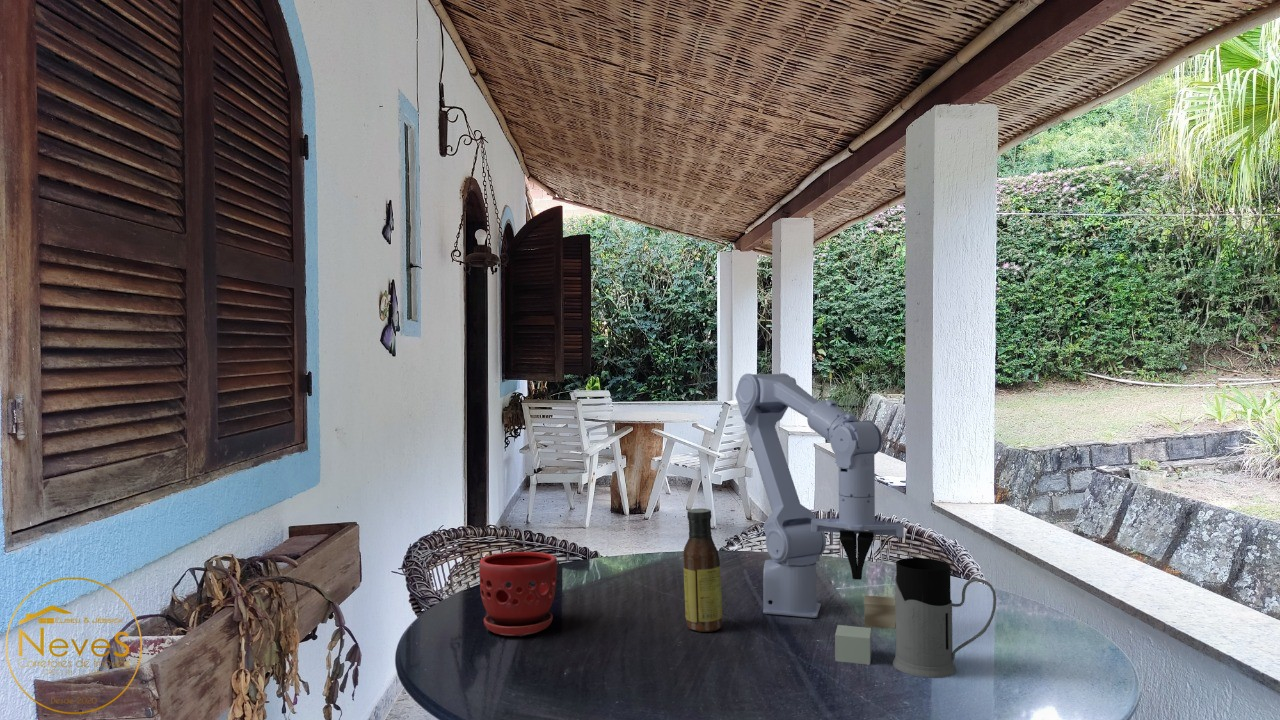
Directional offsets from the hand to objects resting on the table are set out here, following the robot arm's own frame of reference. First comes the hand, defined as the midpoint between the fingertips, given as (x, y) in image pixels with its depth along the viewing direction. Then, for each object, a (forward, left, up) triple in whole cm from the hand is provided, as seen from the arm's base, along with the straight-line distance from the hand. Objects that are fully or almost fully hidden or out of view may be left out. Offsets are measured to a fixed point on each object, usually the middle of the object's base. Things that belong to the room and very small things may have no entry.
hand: (857, 577), depth 131 cm
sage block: (0, -10, -10) cm, 14 cm away
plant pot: (-55, -12, -10) cm, 57 cm away
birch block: (+3, +8, -10) cm, 13 cm away
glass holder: (+13, -12, -10) cm, 20 cm away
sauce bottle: (-25, -3, -10) cm, 27 cm away
